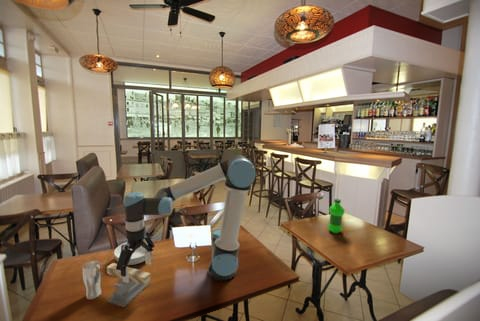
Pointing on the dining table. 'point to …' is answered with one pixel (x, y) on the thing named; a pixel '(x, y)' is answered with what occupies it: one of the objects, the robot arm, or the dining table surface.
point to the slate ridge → (125, 292)
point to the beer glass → (92, 279)
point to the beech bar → (130, 274)
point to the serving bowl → (136, 256)
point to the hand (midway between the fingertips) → (137, 272)
